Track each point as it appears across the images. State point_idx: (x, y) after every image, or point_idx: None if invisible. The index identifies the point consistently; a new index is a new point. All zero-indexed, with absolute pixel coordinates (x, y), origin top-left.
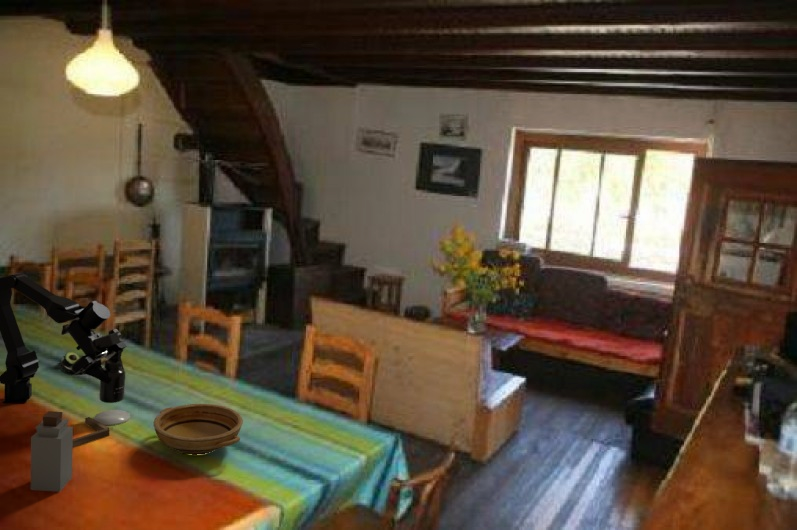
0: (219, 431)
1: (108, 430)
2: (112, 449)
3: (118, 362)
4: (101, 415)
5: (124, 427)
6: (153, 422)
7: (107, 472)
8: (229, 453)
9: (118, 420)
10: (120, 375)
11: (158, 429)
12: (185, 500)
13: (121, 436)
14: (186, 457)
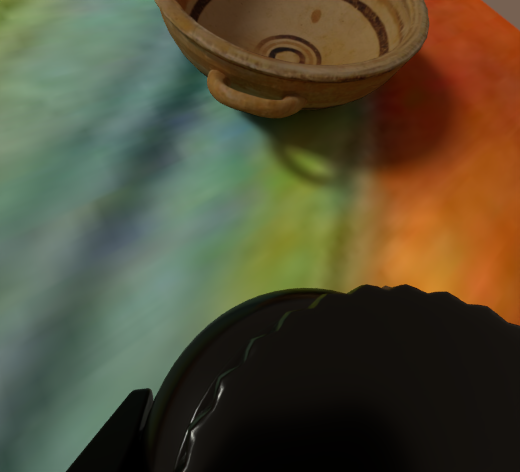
0: (218, 20)
1: (389, 287)
2: (427, 222)
3: (411, 345)
4: None
5: None
6: (392, 69)
7: (503, 163)
8: None
9: None
10: (338, 292)
11: (422, 37)
12: (452, 22)
13: (352, 253)
14: None
